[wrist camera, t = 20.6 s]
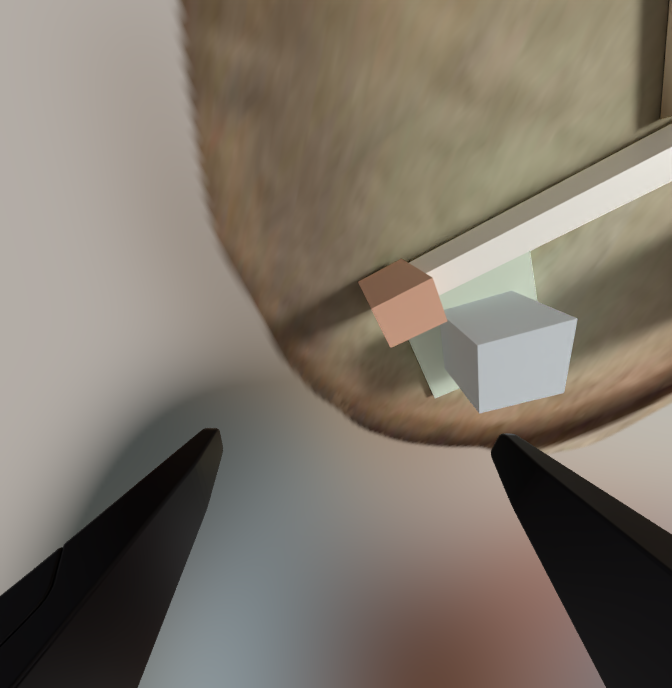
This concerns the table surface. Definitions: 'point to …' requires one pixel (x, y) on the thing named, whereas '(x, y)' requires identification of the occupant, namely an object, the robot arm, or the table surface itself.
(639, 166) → the bar
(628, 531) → the robot arm
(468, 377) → the block
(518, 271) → the mat
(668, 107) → the wooden u frame
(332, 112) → the table surface
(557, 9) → the table surface
